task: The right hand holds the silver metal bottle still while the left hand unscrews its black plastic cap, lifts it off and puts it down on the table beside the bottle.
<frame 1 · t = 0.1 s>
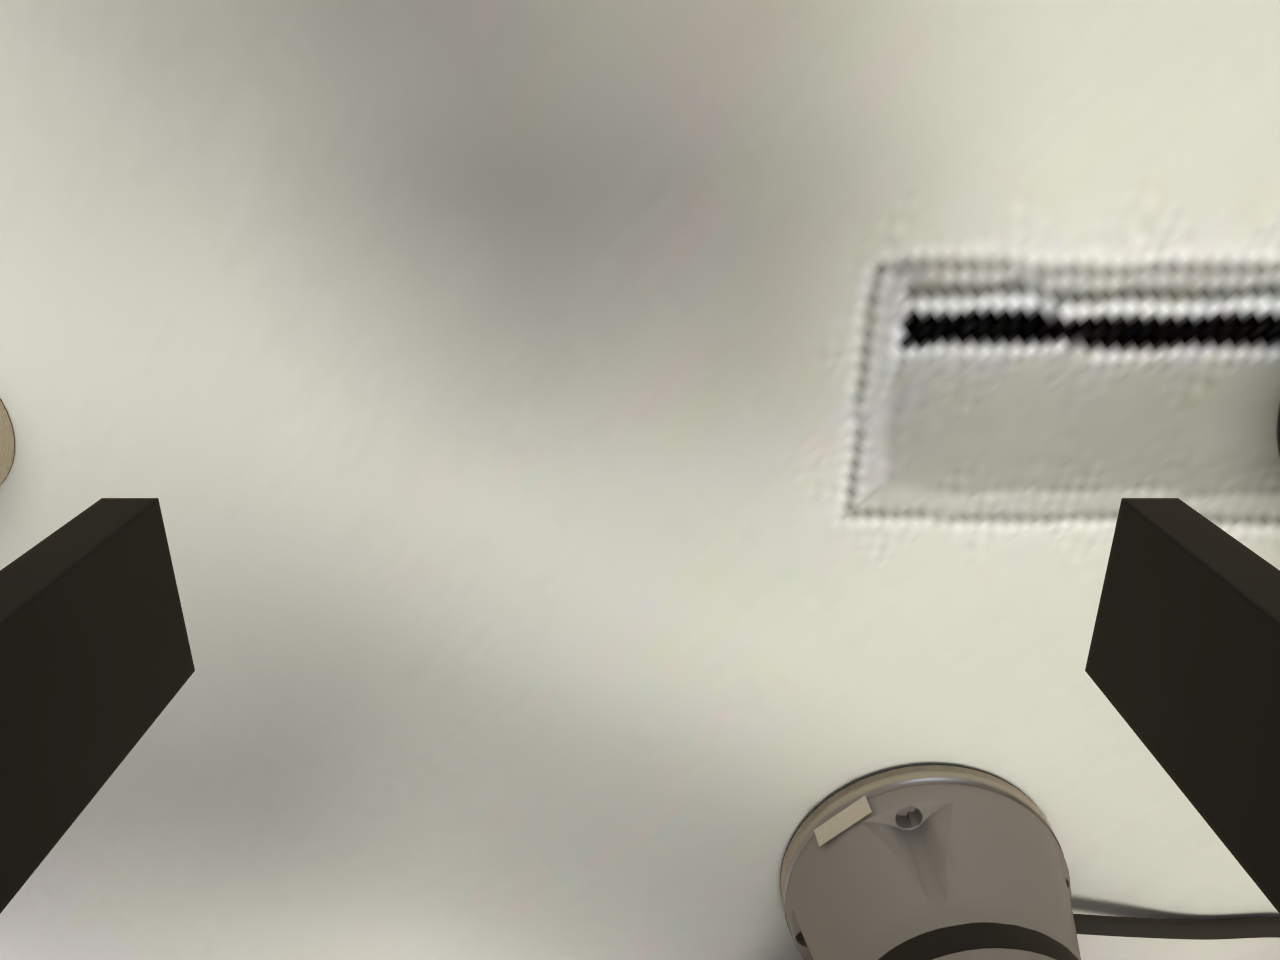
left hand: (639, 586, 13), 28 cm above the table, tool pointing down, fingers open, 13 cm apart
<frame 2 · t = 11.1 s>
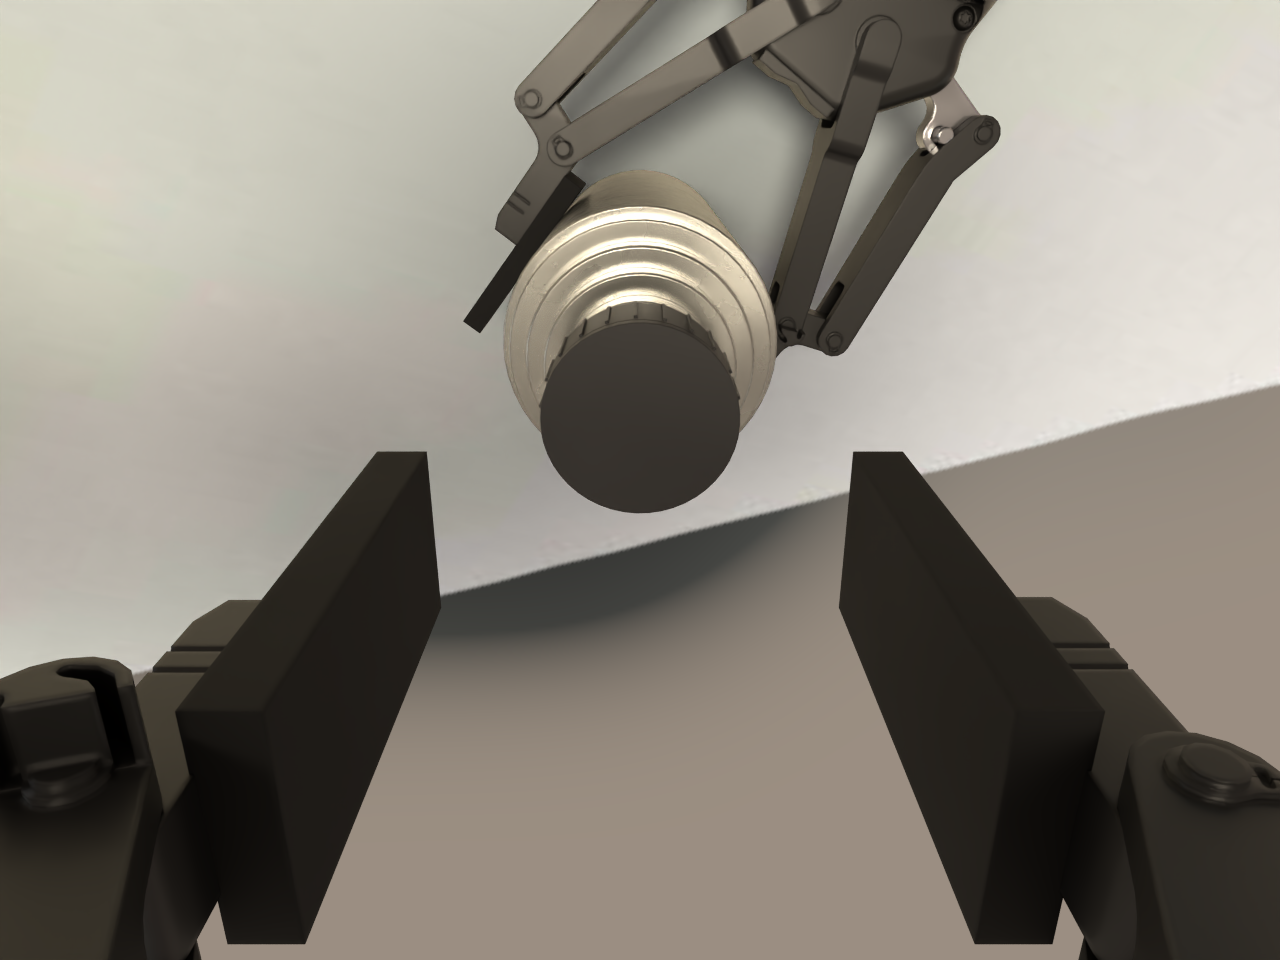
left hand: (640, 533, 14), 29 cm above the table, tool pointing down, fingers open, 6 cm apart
right hand: (566, 383, 36), fingers closed on bottle, 8 cm apart
cap: (640, 417, 20), point 23 cm above the table, screwed on, not yet turned
bottle: (640, 260, 41), on the table, touching right hand
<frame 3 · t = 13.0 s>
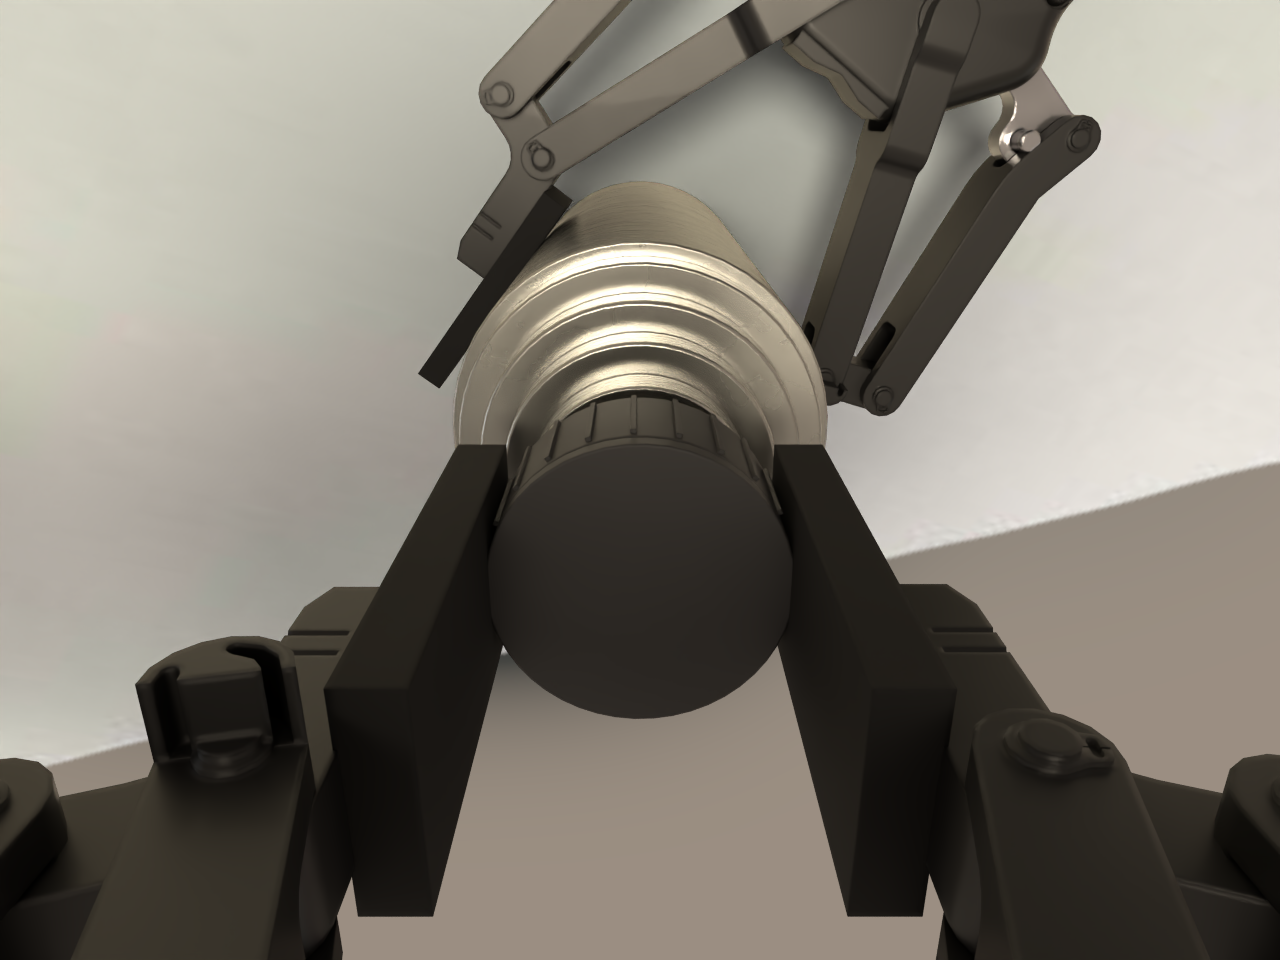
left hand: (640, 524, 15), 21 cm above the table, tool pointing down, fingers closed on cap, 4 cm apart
right hand: (549, 446, 29), fingers closed on bottle, 8 cm apart
cap: (640, 580, 13), point 23 cm above the table, screwed on, not yet turned, touching left hand
bottle: (640, 289, 34), on the table, touching right hand
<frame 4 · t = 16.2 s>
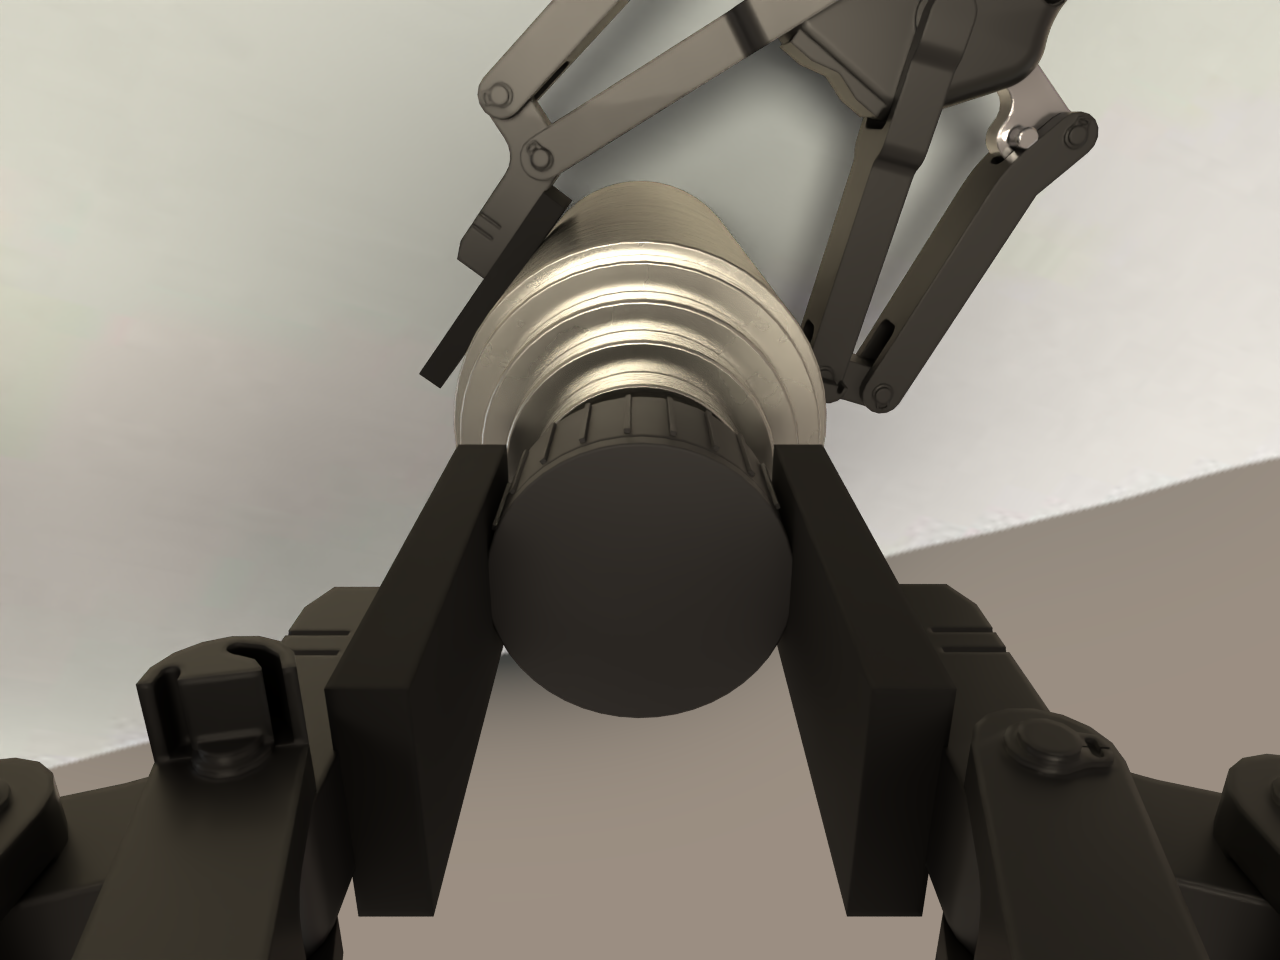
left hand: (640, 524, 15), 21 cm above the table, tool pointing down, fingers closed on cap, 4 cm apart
right hand: (550, 445, 30), fingers closed on bottle, 8 cm apart
cap: (640, 579, 13), point 23 cm above the table, turned 84° so far, risen 0.1 cm, still on its thread, touching left hand
bottle: (639, 288, 34), on the table, touching right hand
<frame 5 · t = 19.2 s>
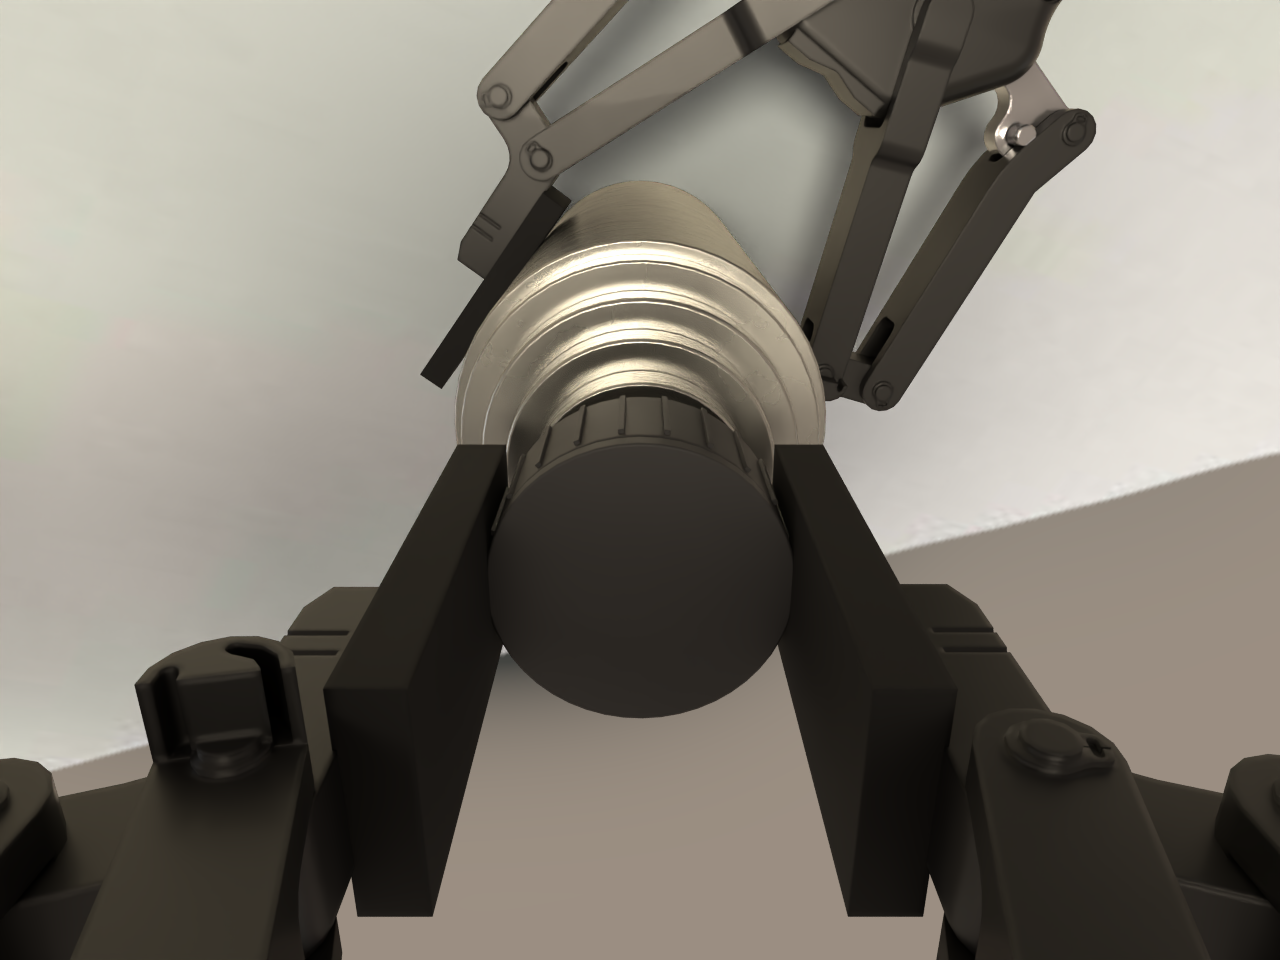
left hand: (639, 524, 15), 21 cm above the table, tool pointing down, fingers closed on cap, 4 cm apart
right hand: (551, 445, 30), fingers closed on bottle, 8 cm apart
cap: (640, 579, 13), point 23 cm above the table, turned 167° so far, risen 0.2 cm, still on its thread, touching left hand
bottle: (640, 288, 34), on the table, touching right hand
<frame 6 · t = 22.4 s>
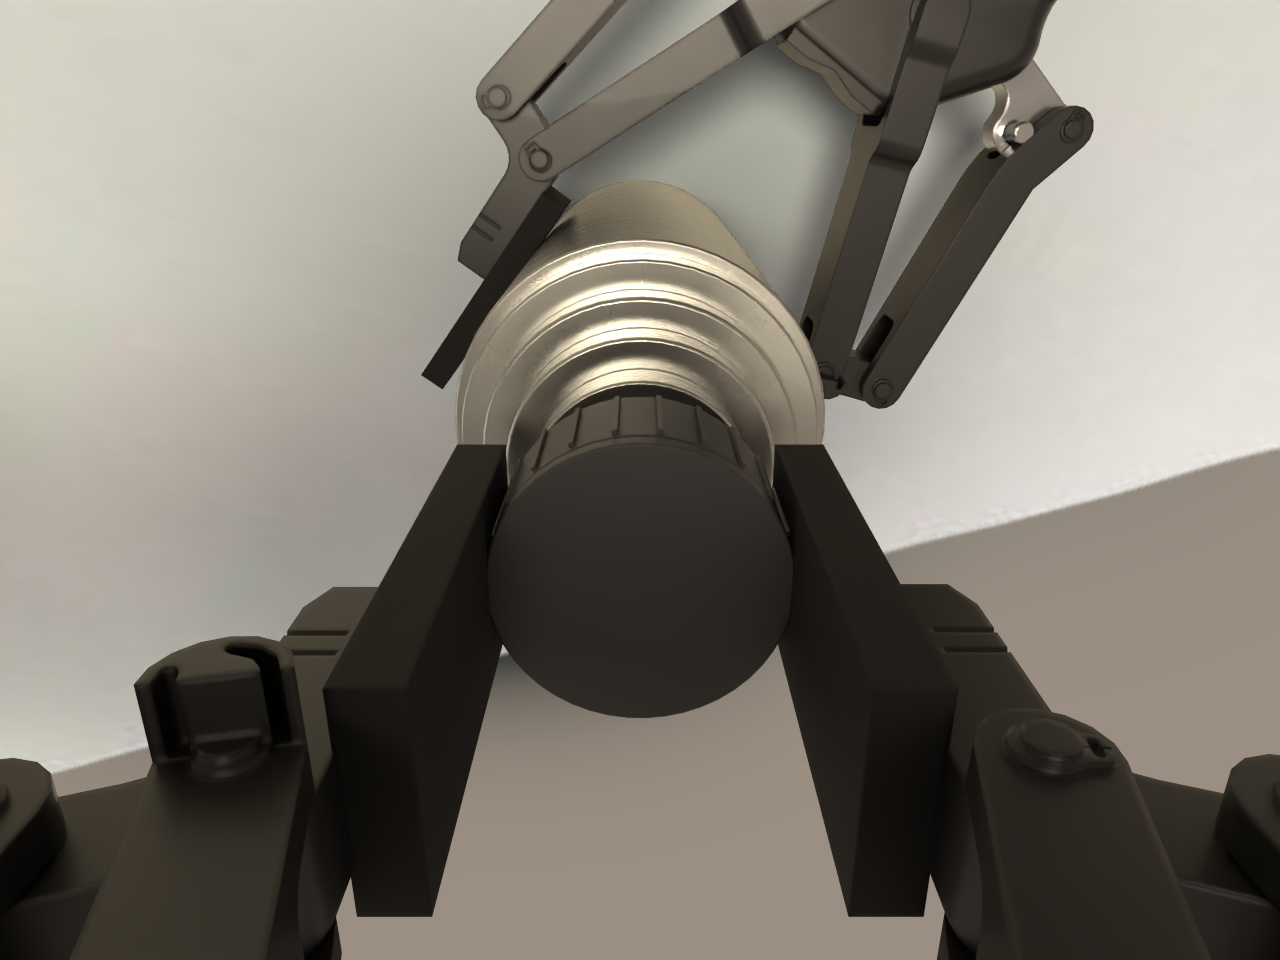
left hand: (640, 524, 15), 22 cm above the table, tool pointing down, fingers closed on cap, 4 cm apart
right hand: (552, 444, 30), fingers closed on bottle, 8 cm apart
cap: (640, 579, 13), point 23 cm above the table, turned 251° so far, risen 0.3 cm, still on its thread, touching left hand
bottle: (639, 287, 35), on the table, touching right hand
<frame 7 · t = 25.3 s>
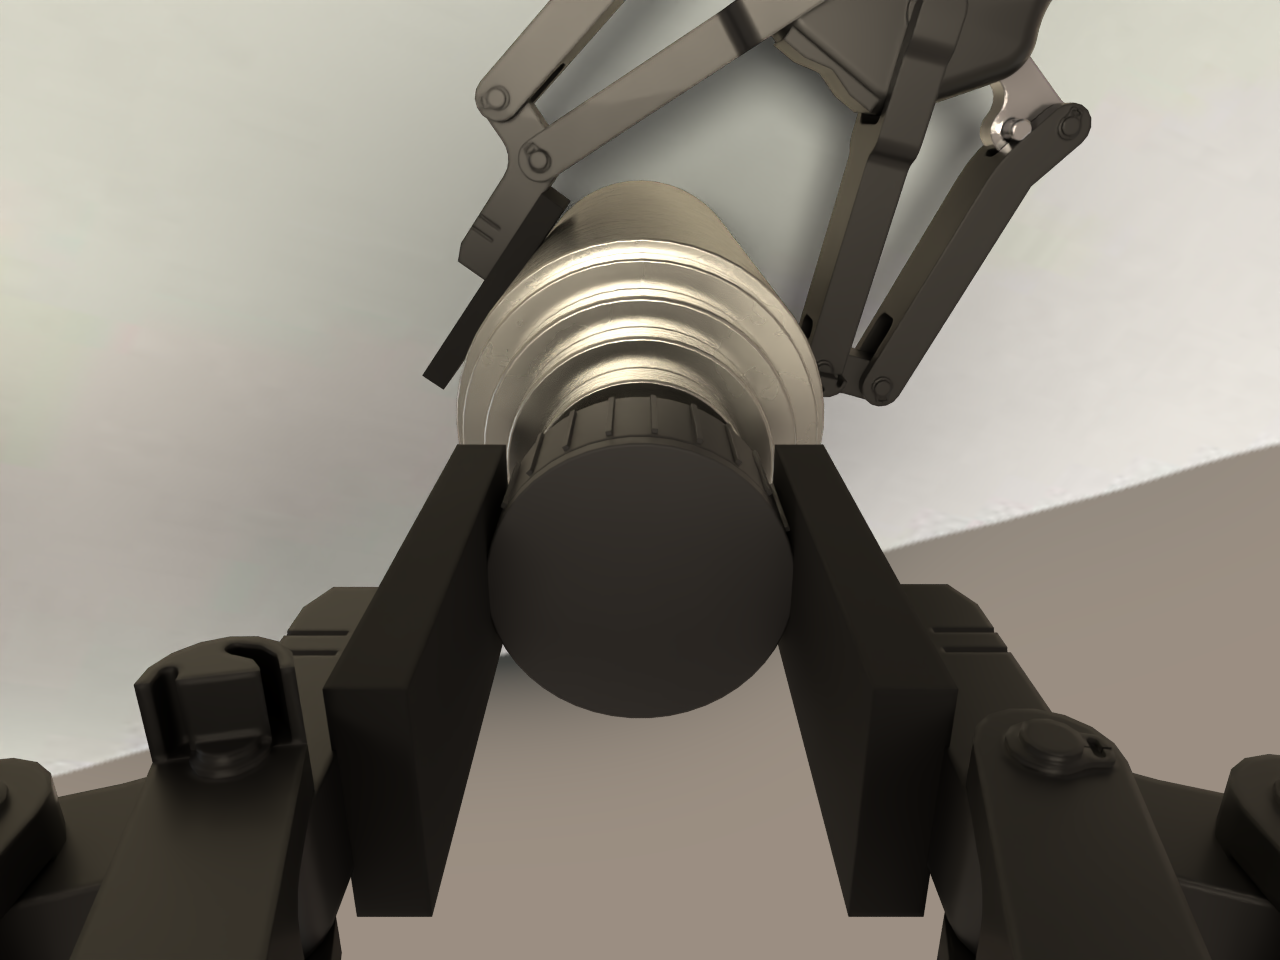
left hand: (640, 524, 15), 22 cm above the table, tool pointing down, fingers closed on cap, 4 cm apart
right hand: (553, 444, 30), fingers closed on bottle, 8 cm apart
cap: (640, 579, 13), point 23 cm above the table, turned 335° so far, risen 0.4 cm, still on its thread, touching left hand
bottle: (640, 287, 35), on the table, touching right hand
when the left hand's fingers open (1 cm above the table, at t = 36.2 s): cap drops 1 cm, point 2 cm above the table.
when the right hand's fingers open (7 cm above the table, at t = 37.5 s): bottle stays where it is, on the table.
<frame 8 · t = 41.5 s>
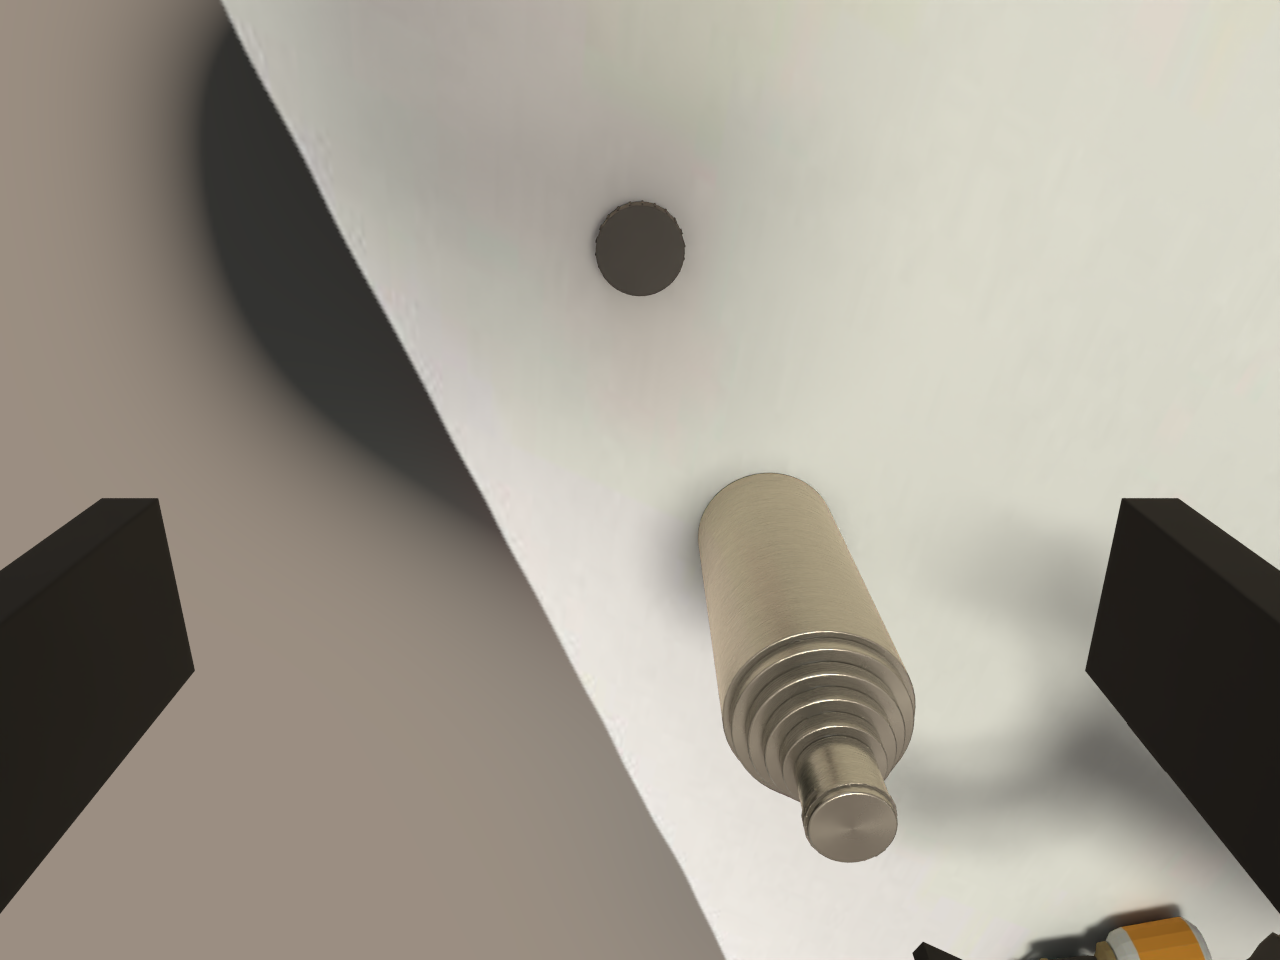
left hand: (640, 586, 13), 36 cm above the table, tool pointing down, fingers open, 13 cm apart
cap: (640, 250, 44), point 2 cm above the table, off its thread
bottle: (765, 535, 52), on the table
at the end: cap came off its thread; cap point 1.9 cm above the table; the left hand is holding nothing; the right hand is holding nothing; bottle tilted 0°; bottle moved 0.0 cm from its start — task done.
